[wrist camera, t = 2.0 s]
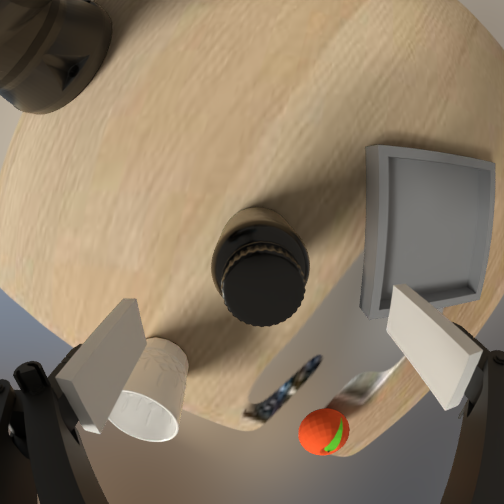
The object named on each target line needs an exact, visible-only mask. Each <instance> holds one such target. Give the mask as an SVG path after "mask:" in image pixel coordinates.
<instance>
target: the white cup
mask: <svg viewBox="0 0 504 504" xmlns="http://www.w3.org/2000/svg"><path fill="white" fill-rule="evenodd" d="M146 342H147V345H146V347H145V349H144V351H143V353H142V355H141V356H140V358H139V360H138V362H137V364H136V366H135V368H134V369H133V371H132V373H131V375H130V377H129V379H128V381H127V383H126V384H125V386H124V388H123V390H122V392H121V394H120V396H119V398H118V400H117V402H116V404H115V406H114V408H113V410H112V412H111V414H110V416H109V418H108V419H109V420H110V421H111V422H112V423H113V424H114V425H115V426H116V427H117V428H119V429H120V430H122V431H123V432H125V433H127V434H129V435H131V436H133V437H135V438H139V439H142V440H146V441H151V442H163V441H167V440H170V439H172V438H174V437H175V436H176V435H177V433H178V430H179V424H180V418H181V412H182V407H183V402H184V396H185V389H186V378H187V373H188V368H189V364H188V359H187V356H186V354H185V353H184V352H183V351H182V349H181V348H180V347H179V346H178V345H176V344H174V343H172V342H171V341H169V340H167V339H162V338H157V337H154V338H149V339H146Z"/></svg>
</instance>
